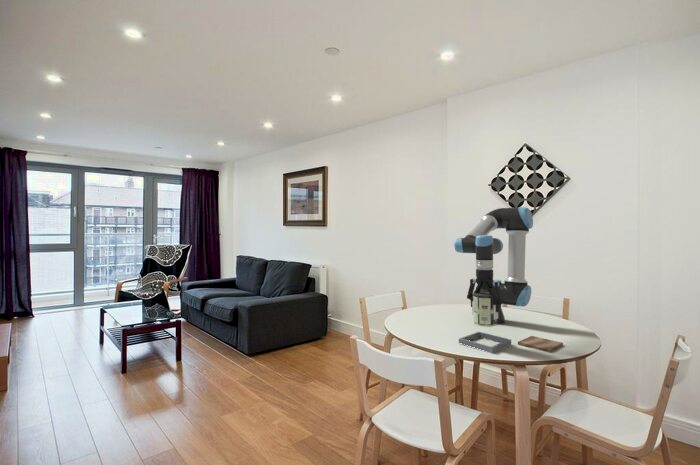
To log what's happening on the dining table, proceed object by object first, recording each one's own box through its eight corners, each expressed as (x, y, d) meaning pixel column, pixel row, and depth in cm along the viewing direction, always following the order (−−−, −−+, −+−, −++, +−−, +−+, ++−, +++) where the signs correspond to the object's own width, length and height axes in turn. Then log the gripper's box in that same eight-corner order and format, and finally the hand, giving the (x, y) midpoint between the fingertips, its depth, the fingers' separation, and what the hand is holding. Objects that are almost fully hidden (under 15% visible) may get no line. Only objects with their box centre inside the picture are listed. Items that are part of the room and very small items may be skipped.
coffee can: (490, 320, 174) (490, 290, 173) (501, 326, 163) (500, 295, 163) (469, 321, 173) (469, 291, 172) (479, 327, 163) (478, 296, 162)
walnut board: (517, 344, 167) (517, 341, 167) (531, 338, 176) (531, 335, 176) (549, 352, 156) (549, 349, 156) (562, 345, 165) (562, 342, 165)
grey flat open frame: (458, 343, 169) (458, 338, 169) (478, 336, 180) (478, 331, 180) (492, 353, 156) (492, 347, 156) (511, 344, 167) (511, 339, 167)
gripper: (458, 267, 174) (459, 313, 174) (503, 272, 156) (504, 323, 157) (467, 265, 178) (468, 310, 179) (512, 270, 161) (512, 319, 162)
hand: (485, 316), depth 168 cm, fingers closed on coffee can, 10 cm apart
